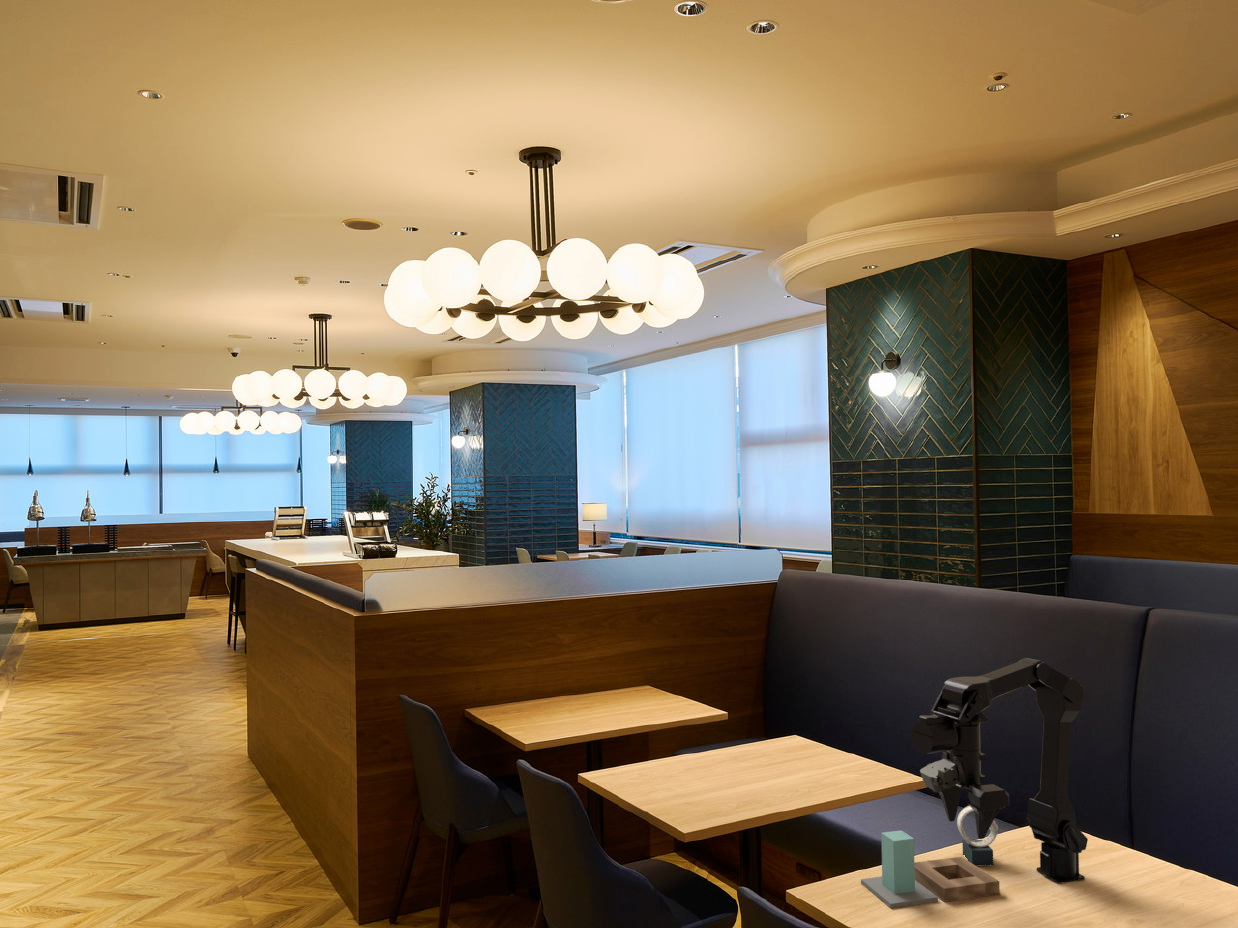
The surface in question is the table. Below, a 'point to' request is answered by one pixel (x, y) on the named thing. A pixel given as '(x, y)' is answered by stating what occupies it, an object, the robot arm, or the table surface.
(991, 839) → the watch
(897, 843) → the peg
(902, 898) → the pad
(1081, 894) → the table surface
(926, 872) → the pocket
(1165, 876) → the table surface
